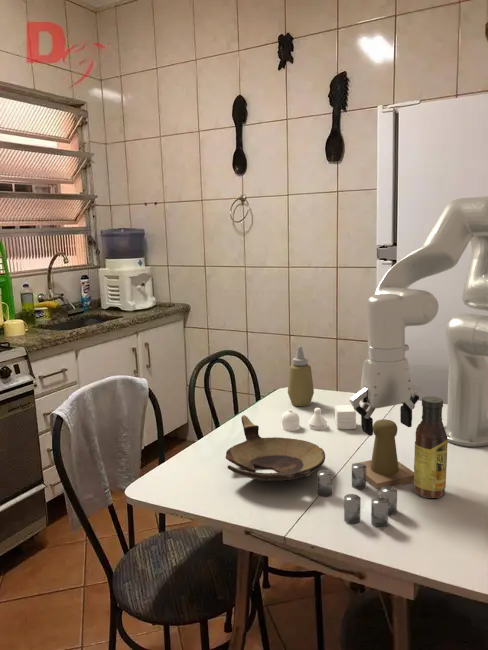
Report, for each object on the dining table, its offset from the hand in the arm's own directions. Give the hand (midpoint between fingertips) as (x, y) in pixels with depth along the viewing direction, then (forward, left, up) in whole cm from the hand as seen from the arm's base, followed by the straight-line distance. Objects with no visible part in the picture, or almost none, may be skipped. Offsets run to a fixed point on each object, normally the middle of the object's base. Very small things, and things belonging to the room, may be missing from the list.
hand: (387, 429), depth 118 cm
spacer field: (+12, +9, -10) cm, 19 cm away
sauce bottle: (-4, +10, -11) cm, 15 cm away
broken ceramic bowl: (+21, -13, -11) cm, 27 cm away
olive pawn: (+1, 0, -9) cm, 9 cm away
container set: (+1, -31, -11) cm, 33 cm away
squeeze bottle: (-3, -50, -11) cm, 51 cm away
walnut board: (+1, 0, -11) cm, 11 cm away
